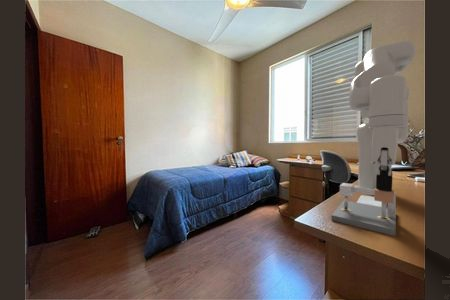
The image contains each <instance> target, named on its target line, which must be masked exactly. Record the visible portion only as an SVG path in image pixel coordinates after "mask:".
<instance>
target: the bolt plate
mask: <svg viewBox="0 0 450 300" xmlns="http://www.w3.org/2000/svg"><path fill="white" fill-rule="evenodd" d="M396 213H397V212H396V209H395V219H394V218H389V217H388V207H386V217H382V216H381V207H378V206H373V205H367V204H362V203H357V201H356V202H354V201H349V200H348V209H344V200H343V201H342V202H341V203H340V205H338V206H337V208H336V209H335V210H334V212H333V213H332V214H331V219H330V220H331V221H333V222H338V223H342V224H345V225H350V226H354V227H358V228H360V229H361V228H362V229H366V230H370V231H373V232H374V231H375V232H378V233H381V234H385V235H389V236H394V237H396V233H397V232H396V231H397V229H396V228H397V227H396V226H397V225H396V222H397V220H396V219H397V218H396Z"/></svg>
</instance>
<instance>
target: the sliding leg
mask: <svg viewBox="0 0 450 300" xmlns="http://www.w3.org/2000/svg"><path fill="white" fill-rule="evenodd" d="M388 171H389V170H388ZM391 176H392V177H393V169H392V168H391ZM394 192H395V190H393V189H392V191H385V190H378V189H376V188H375V195H373V197H374V200H375V201H381V202H382V205H381V216H382V217H386V208H387V206H386V202H387V204H388V203H393V204H394Z"/></svg>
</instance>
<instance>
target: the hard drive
mask: <svg viewBox="0 0 450 300" xmlns="http://www.w3.org/2000/svg"><path fill="white" fill-rule="evenodd" d="M356 203H362V204H367V205H373V206H378V207H381V205H382V202H381V201H375V200H374V196H372V195H365V194H364V195H363V194H362V195H360V196H359V198H358V200H357V201H356ZM386 207H388V203H387V202H386Z"/></svg>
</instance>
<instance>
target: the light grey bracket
mask: <svg viewBox="0 0 450 300" xmlns="http://www.w3.org/2000/svg"><path fill="white" fill-rule="evenodd" d="M354 193H357V194H362V195H363V194H364V195H368V196H375V189H371V188H364V187H356V186H355V184H354V183H348V182H342V183H340V185H339V196H343V198H344V199H343V201H344V209H348V201H349V197H352V196H353V195H354ZM396 196H397V192H396V191H394V204H393V203H387V208H388V217H389V218H394V219H395V210H396V205H397V204H396V202H397V201H396V199H397V197H396Z"/></svg>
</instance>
